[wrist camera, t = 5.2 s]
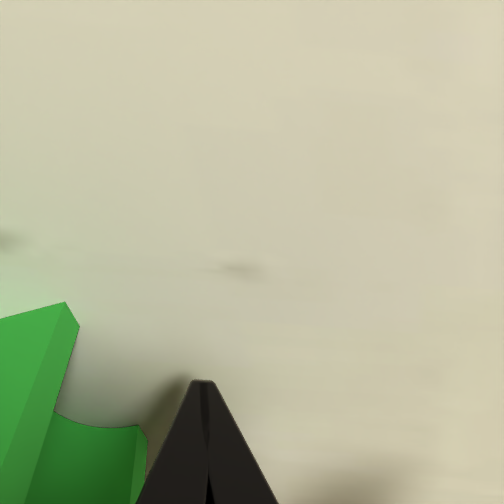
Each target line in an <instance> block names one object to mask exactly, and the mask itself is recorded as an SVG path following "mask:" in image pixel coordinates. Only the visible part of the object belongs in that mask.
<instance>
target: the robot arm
mask: <svg viewBox="0 0 504 504" xmlns="http://www.w3.org/2000/svg"><path fill="white" fill-rule="evenodd" d="M135 504H279V503H278V502H277V500H276V498H275V496H274V494H273V492H272V490H271V488H270V486H269V484H268V483H267V481H266V479H265V477H264V475H263V473H262V471H261V469H260V467H259V465H258V464H257V462H256V460H255V458H254V456H253V454H252V452H251V450H250V448H249V447H248V445H247V443H246V441H245V439H244V437H243V435H242V433H241V431H240V429H239V428H238V426H237V424H236V422H235V420H234V418H233V416H232V414H231V412H230V410H229V409H228V407H227V405H226V403H225V401H224V399H223V397H222V395H221V393H220V392H219V390H218V388H217V386H216V384H215V383H214V382H213V381H210V380H197V379H194V380H192V381H191V382H190V384H189V387H188V389H187V391H186V393H185V395H184V398H183V400H182V402H181V404H180V406H179V409H178V411H177V413H176V415H175V417H174V420H173V422H172V424H171V426H170V428H169V431H168V433H167V435H166V437H165V439H164V442H163V444H162V446H161V448H160V450H159V453H158V455H157V457H156V459H155V461H154V464H153V466H152V468H151V470H150V472H149V474H148V477H147V479H146V481H145V483H144V485H143V488H142V490H141V492H140V494H139V496H138V499H137V501H136V503H135Z"/></svg>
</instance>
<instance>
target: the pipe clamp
mask: <svg viewBox="0 0 504 504" xmlns="http://www.w3.org/2000/svg"><path fill="white" fill-rule="evenodd" d="M79 327H80V326H79V324H78V323H77V321H76V319H75V318H74V316H73V314H72V313H71V311H70V309H69V308H68V306H67V304H66V303H65V302H62V303H59V304H55V305H51V306H47V307H43V308H40V309H36V310H32V311H28V312H24V313H21V314H17V315H13V316H9V317H5V318H2V319H0V504H135V503H136V501H137V499H138V496H139V494H140V492H141V490H142V488H143V485H144V480H145V468H146V457H147V445H148V440H147V438H146V437H145V435H144V433H143V432H142V430H141V428H140V427H139V425H135V426H130V427H124V428H99V427H92V426H87V425H83V424H79V423H76V422H74V421H71V420H69V419H66V418H64V417H62V416H61V415H59V414H57V413H56V412H54V411H53V410H54V407H55V404H56V400H57V397H58V394H59V391H60V388H61V384H62V381H63V378H64V375H65V372H66V368H67V365H68V362H69V359H70V356H71V352H72V349H73V346H74V343H75V340H76V337H77V333H78V330H79Z"/></svg>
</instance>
